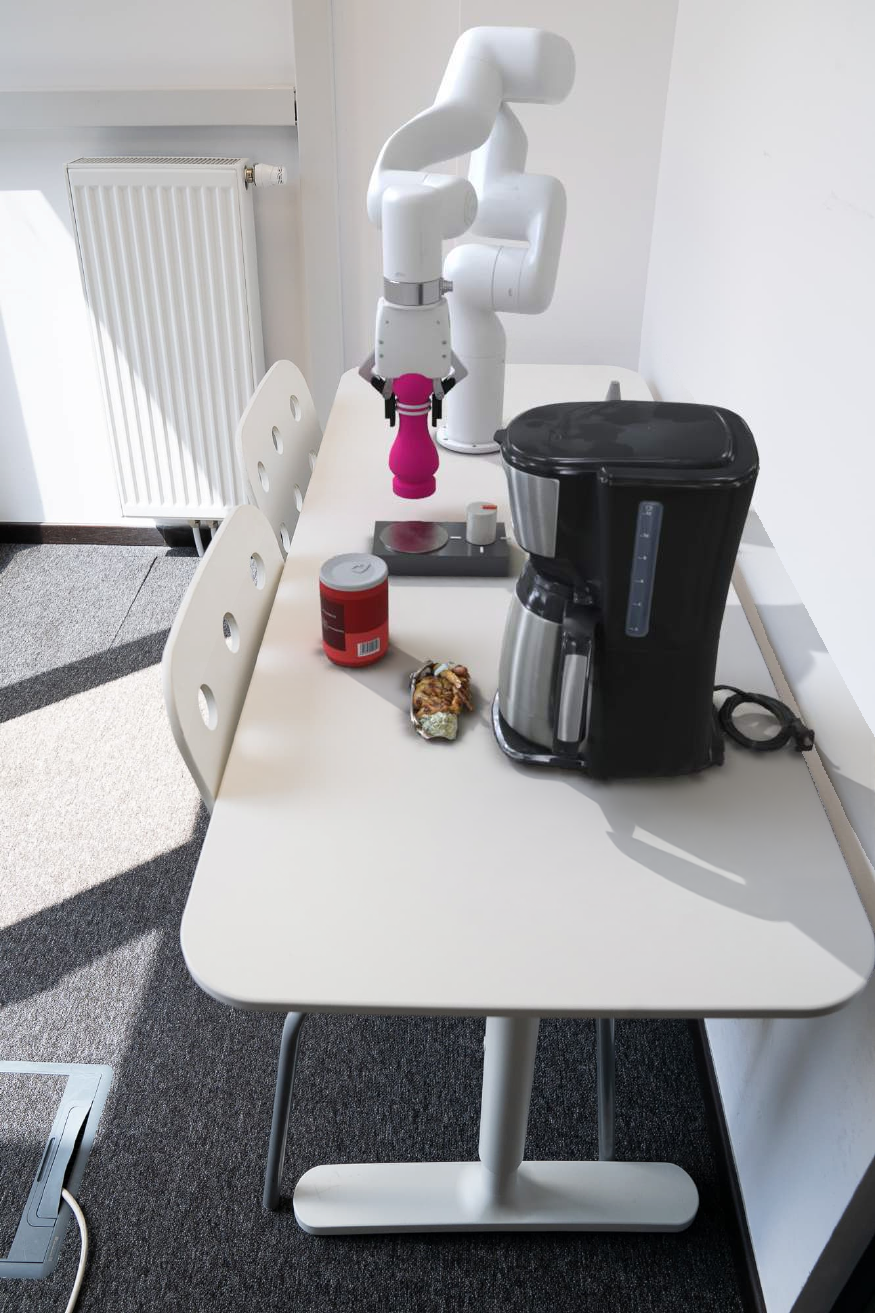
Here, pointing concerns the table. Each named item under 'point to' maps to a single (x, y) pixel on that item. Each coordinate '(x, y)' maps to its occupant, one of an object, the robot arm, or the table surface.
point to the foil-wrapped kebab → (438, 698)
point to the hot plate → (448, 554)
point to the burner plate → (414, 537)
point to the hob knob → (481, 523)
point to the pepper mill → (413, 439)
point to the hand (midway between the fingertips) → (413, 422)
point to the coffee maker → (625, 588)
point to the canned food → (354, 609)
